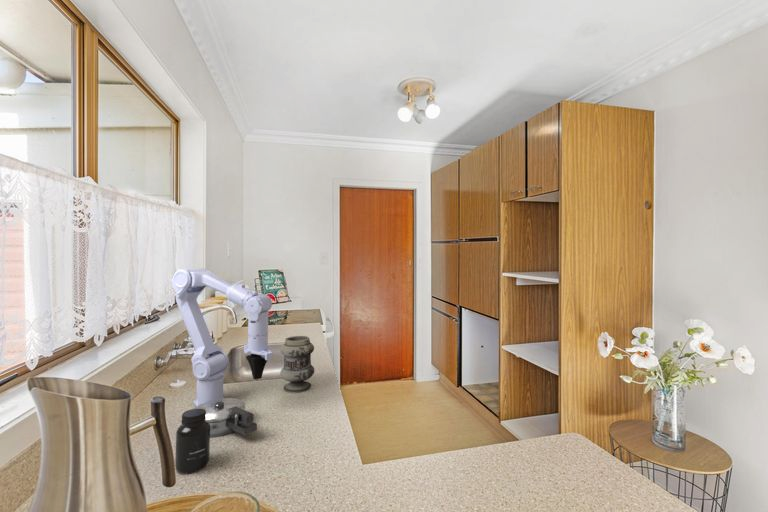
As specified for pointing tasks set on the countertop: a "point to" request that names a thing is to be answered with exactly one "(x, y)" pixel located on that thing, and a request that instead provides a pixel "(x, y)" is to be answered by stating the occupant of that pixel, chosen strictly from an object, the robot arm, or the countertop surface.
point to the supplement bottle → (192, 442)
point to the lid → (226, 410)
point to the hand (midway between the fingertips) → (257, 378)
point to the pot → (231, 427)
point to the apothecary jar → (297, 363)
